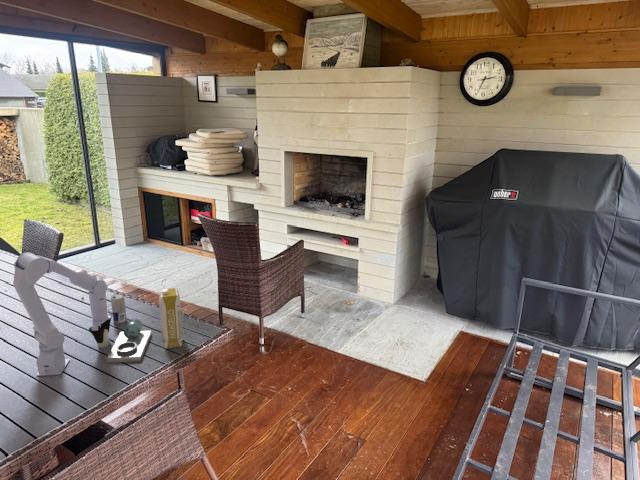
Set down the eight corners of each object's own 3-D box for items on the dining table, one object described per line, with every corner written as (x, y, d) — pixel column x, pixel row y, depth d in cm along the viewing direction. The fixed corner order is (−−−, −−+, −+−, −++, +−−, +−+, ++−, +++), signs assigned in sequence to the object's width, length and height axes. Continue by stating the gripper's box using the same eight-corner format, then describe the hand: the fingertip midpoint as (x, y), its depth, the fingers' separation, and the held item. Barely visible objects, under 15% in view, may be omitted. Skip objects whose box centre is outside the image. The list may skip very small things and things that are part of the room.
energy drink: (114, 319, 198) (111, 294, 194) (126, 317, 200) (124, 293, 196) (113, 324, 193) (110, 299, 189) (126, 322, 195) (123, 298, 191)
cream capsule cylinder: (108, 347, 176) (106, 332, 174) (96, 348, 175) (94, 332, 173) (111, 341, 180) (109, 326, 178) (99, 342, 179) (97, 327, 177)
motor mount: (140, 361, 168) (138, 342, 165) (107, 362, 166) (104, 344, 163) (151, 334, 186) (149, 317, 184) (121, 336, 184) (119, 319, 182)
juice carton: (162, 338, 183) (157, 286, 176) (182, 335, 186) (178, 283, 179) (163, 350, 175) (158, 295, 168) (184, 347, 178) (180, 293, 170)
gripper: (104, 315, 166) (108, 346, 170) (115, 298, 180) (118, 328, 184) (84, 316, 165) (88, 347, 169) (96, 299, 179) (100, 328, 183)
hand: (103, 337), depth 176 cm, fingers open, 7 cm apart
